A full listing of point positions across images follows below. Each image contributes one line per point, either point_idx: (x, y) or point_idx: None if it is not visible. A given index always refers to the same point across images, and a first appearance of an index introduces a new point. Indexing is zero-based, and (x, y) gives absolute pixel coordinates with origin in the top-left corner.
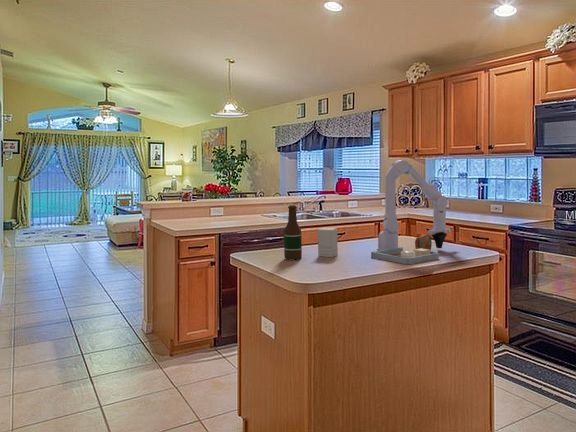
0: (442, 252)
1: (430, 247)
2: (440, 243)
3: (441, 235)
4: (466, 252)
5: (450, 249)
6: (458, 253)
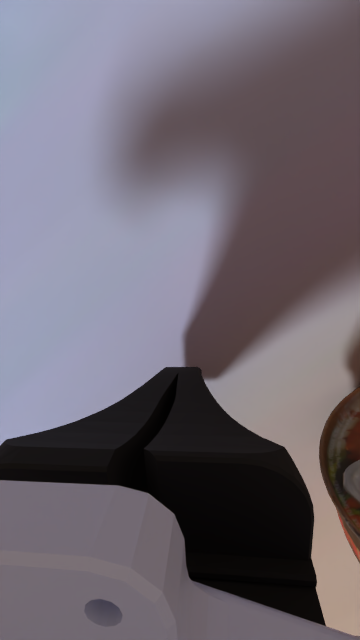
0: (295, 245)
1: (335, 426)
2: (204, 387)
3: (257, 452)
4: (30, 28)
5: (42, 326)
6: (191, 37)
